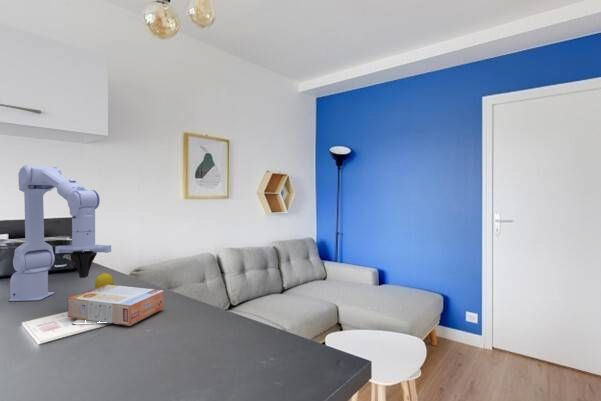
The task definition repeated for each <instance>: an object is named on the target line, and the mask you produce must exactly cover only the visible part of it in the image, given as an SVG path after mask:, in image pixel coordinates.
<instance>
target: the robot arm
mask: <svg viewBox="0 0 601 401" xmlns="http://www.w3.org/2000/svg"><path fill="white" fill-rule="evenodd" d="M17 178H18V190H19V191H20V192H23V197H24V235H25V236H24V237H25V238H24V242H23V243H22V244H20V245H19V246H18V247H16V248H14V254H13V255H14V256H13V258H12V259H13V260H12V265H13V268H14V270H15V272H14V273H13V274H12V275H11V277H10V280H9V298H8V302H27V301H42V300H43V299H45V298H47V297H49V296H51V295H54V294H55V292H54V291H49V270H51V268H52V266H53V265H54V263H55V259H56V258H55V254H61V253H63V254H64V253H65V254H66V253H67V254H68V253H69V254H70V257H69V258H70V259H71V261H72V262H73V263H74V265H75V267H76V270H77V273H78V276H79V278H80V279H85V278H87V277H89V273H90V269H91V266H92V265H93V261H94V260H95V257H96V256H97V255H98V253H104V254H106V253H107V254H108V253H111V252H112V245H111V244H110V245H107V244H106V245H105V244H96V209H98V208H99V205H100V203H101V200H100V194H99V193H98V191H97V190H95V189H90V190H88V189H86V188H85V186H83V185H80V184H79V183H78V182H77V180H76V179H75V178H73V179H72V178H70V179H67V178H65V177H64V175H62V170H61V169H60V168H58V167H56V166H54V167H52V166H51V167H49V166H36V165H26V164H24V165H22V166H21V168H19V171H18V177H17ZM53 189H56V192H57V194H58V195H59V196H61V198H63V199H65V201H66V203H67V206H68V208H69V214H70V216H71V245H69V244H68V245H57V246H55V254H54V250H53V245H51V244H49V243H47V242H46V241H45V225H44V224H45V222H44V220H45V219H44V217H45V215H44V214H45V213H44V209H45V208H44V195H45V194H46V193H47V192H51V191H52V190H53ZM71 253H72V254H71Z"/></svg>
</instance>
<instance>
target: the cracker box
mask: <svg viewBox="0 0 601 401" xmlns="http://www.w3.org/2000/svg"><path fill="white" fill-rule="evenodd" d="M164 294H165V291H164V290H163V289H155V288H144V287H143V288H142V287H134V286H127V285H126V286H124V285H116V284H114V285H105V286H102V287H99V288H96V289H95V288H93V289H90V290H86V291H84V292H81V293H78V294H76V295H72V296H68V298H67V317H68V318H71V319H86V320H93V321H100V322H107V323H114V324H116V325H122V326H133V325H135V324H136V323H138V322H139V321H142V320H144V319H146V318H147V317H150V316H151V315H154V314H156V313H158V312H159V311H162V310H163V309H164V304H165V303H164V298H165V296H164Z"/></svg>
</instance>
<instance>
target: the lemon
mask: <svg viewBox="0 0 601 401" xmlns="http://www.w3.org/2000/svg"><path fill="white" fill-rule="evenodd" d="M105 285H115V282H114V278H113V276H112V275H111V274H109V273H106V272H103V273H102V274H100V275H98V276H97V277H96V280H95V282H94V289H96V288H99V287H102V286H105Z"/></svg>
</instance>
